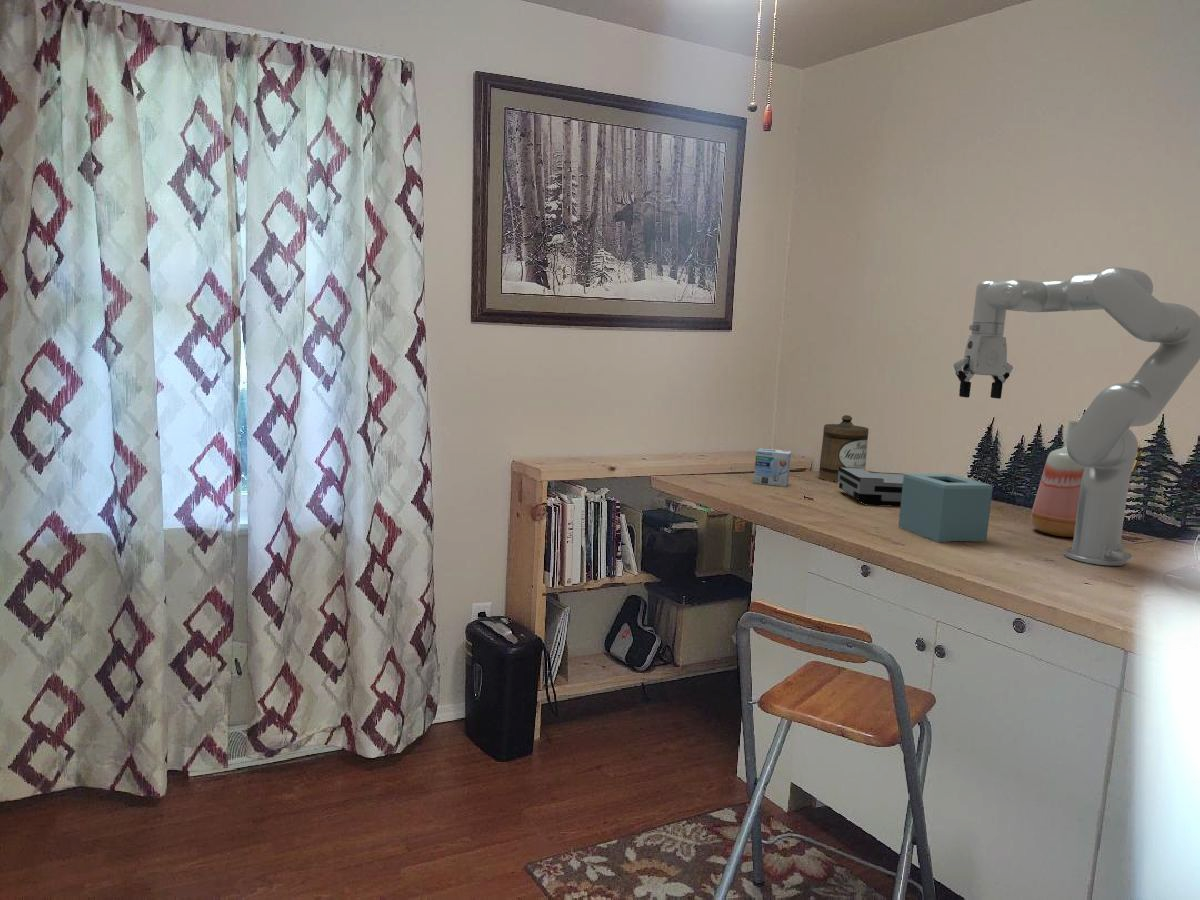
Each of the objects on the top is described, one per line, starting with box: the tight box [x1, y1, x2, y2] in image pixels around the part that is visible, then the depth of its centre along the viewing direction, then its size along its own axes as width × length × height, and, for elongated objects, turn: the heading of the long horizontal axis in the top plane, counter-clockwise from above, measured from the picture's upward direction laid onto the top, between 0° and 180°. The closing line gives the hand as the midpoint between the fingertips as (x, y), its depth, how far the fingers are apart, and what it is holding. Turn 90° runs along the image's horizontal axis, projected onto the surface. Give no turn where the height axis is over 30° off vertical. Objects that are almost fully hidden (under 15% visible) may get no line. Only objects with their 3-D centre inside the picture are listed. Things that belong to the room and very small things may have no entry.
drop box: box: [898, 473, 994, 543], centre depth 224 cm, size 16×14×14 cm
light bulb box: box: [753, 447, 792, 488], centre depth 286 cm, size 11×7×11 cm, turn 73°
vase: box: [1030, 420, 1086, 538], centre depth 231 cm, size 14×14×30 cm
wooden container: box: [818, 414, 869, 483], centre depth 301 cm, size 15×15×22 cm
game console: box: [838, 467, 905, 507], centre depth 269 cm, size 21×32×8 cm, turn 92°
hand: (980, 397), depth 230 cm, fingers open, 9 cm apart
